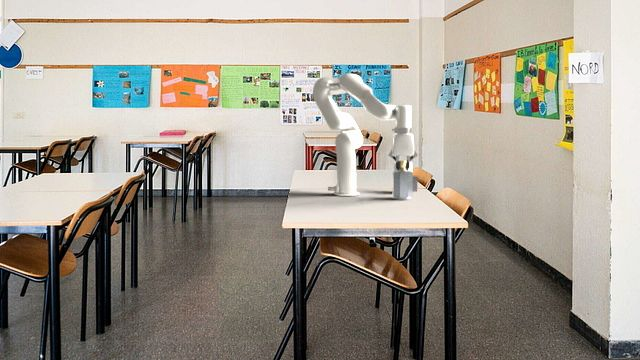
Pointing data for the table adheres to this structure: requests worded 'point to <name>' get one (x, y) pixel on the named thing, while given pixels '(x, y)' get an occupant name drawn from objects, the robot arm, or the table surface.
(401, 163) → the plunger
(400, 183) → the pale grey carton
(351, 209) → the table surface
